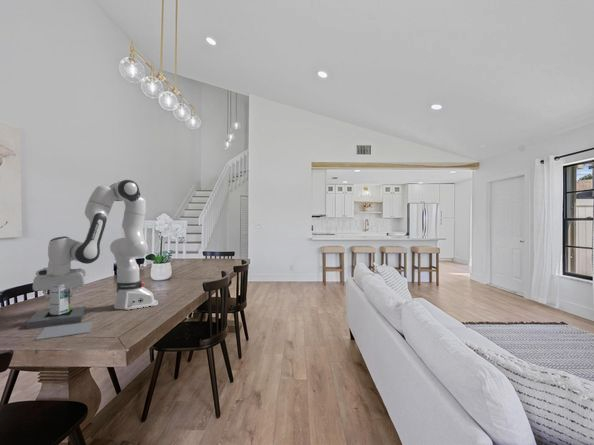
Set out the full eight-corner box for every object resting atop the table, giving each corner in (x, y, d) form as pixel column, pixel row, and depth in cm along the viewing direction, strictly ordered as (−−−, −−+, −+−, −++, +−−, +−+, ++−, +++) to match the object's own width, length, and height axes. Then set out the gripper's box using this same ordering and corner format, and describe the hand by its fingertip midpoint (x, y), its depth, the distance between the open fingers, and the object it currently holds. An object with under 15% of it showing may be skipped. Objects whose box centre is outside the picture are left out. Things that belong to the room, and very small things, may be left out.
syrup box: (59, 315, 147) (59, 284, 147) (49, 314, 148) (49, 284, 148) (70, 311, 153) (70, 282, 153) (60, 310, 154) (60, 282, 154)
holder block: (85, 311, 164) (85, 306, 164) (80, 322, 146) (80, 316, 146) (37, 317, 154) (37, 311, 154) (26, 329, 136) (26, 322, 136)
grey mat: (92, 322, 146) (92, 321, 146) (89, 332, 132) (89, 332, 132) (44, 328, 137) (44, 327, 137) (35, 340, 123) (35, 339, 123)
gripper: (85, 267, 158) (86, 293, 158) (34, 270, 148) (35, 299, 148) (84, 268, 153) (84, 296, 153) (31, 272, 143) (31, 302, 143)
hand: (59, 297), depth 150 cm, fingers closed on syrup box, 8 cm apart
